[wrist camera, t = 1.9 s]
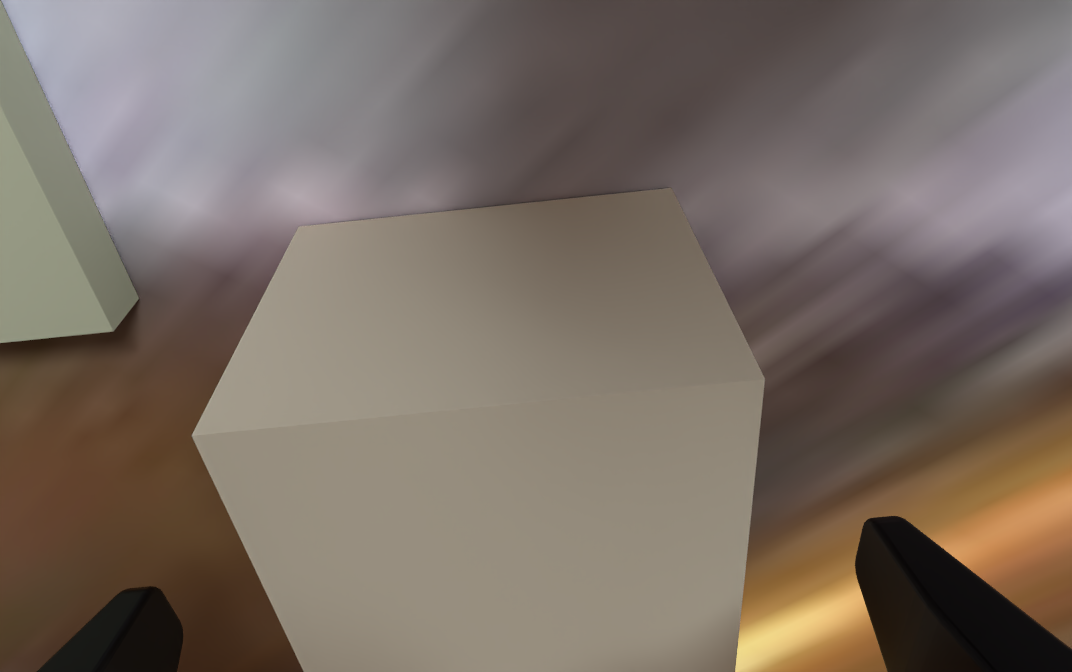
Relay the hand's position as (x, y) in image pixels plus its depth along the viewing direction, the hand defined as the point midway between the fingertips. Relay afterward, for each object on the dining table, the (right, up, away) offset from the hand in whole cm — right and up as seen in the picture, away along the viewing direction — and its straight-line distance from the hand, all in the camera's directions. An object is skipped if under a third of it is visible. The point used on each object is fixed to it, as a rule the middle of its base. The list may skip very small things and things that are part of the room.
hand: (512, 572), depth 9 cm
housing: (0, +3, +4) cm, 5 cm away
